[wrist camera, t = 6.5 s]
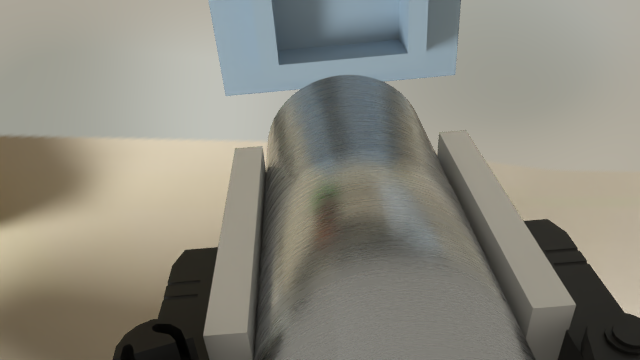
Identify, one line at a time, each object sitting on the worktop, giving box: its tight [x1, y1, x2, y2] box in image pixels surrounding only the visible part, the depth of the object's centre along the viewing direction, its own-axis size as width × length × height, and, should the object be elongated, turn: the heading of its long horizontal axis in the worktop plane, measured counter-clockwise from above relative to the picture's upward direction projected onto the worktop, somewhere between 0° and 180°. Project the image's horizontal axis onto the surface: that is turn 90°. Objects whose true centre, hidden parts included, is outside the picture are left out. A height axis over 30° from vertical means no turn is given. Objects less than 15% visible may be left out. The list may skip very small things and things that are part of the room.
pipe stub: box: [254, 75, 536, 360], centre depth 12 cm, size 5×5×12 cm
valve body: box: [209, 0, 461, 96], centre depth 30 cm, size 14×17×6 cm
